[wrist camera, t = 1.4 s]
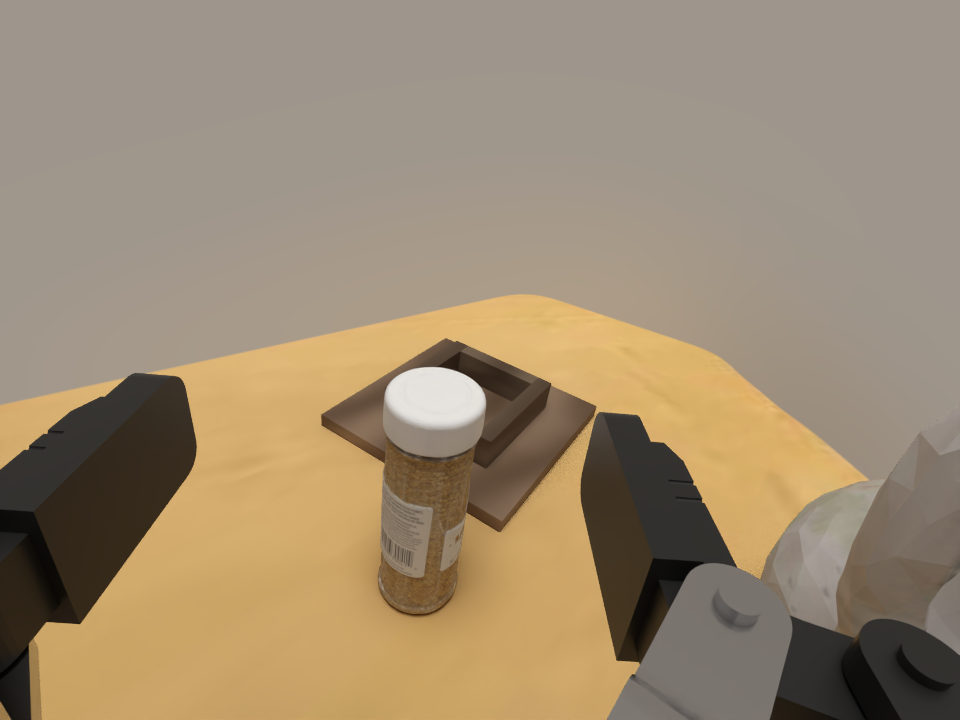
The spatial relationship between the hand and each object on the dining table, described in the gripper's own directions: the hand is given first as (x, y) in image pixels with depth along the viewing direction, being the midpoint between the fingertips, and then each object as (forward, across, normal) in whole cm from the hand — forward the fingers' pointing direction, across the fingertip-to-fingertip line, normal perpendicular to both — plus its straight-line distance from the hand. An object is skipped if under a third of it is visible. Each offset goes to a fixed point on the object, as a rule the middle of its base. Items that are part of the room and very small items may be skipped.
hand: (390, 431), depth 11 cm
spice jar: (+12, 0, +20) cm, 23 cm away
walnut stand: (+27, -2, +19) cm, 33 cm away
